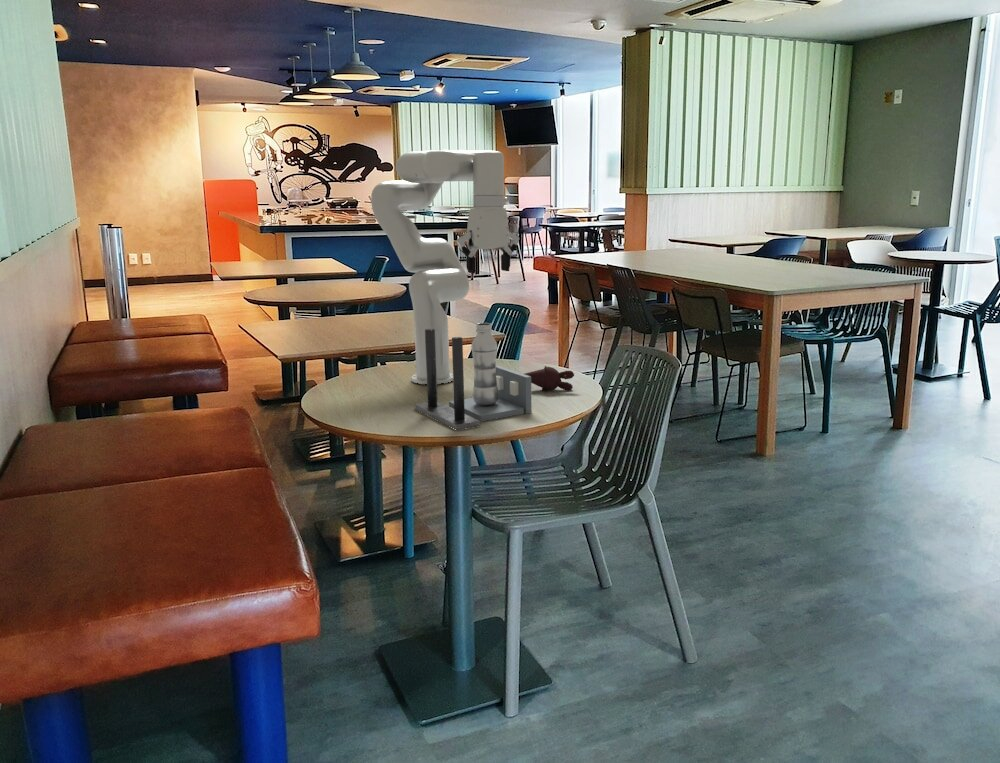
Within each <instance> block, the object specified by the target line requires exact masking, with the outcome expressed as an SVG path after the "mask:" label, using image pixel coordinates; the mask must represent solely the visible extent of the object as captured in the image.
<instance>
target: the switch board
mask: <svg viewBox="0 0 1000 763" xmlns="http://www.w3.org/2000/svg"><path fill="white" fill-rule="evenodd" d="M495 368H496V381H497V387H498V392H499V396H498V400H497V402H496V403H495V404H491V405H478V404H476V403H475V402H474V400H473V397H468V398H464V410H465V414H466V415H468V416H470V417H473V418H475V419H477V420H479V423H482V422H487V420H489V421H492V420H491V419H494V420H497V419H496V418H500V419H503V418H502V417H505V418H508V417H507V416H510V417H513V416H512V415H516V416H519V414H521V415H524V414H526V413H527V414H530V413H529V412H532V411H533V410H532V409H533V408H532V383H531V376H528V375H525V373H522V372H519V371H516V370H513V369H511V368H507V367H505V366H504V367H503V366H501V365H498V364H496V367H495ZM448 406H449V407H451V408H453V409H454V400H450V401H448ZM524 412H525V413H524ZM532 413H533V412H532Z"/></svg>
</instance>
